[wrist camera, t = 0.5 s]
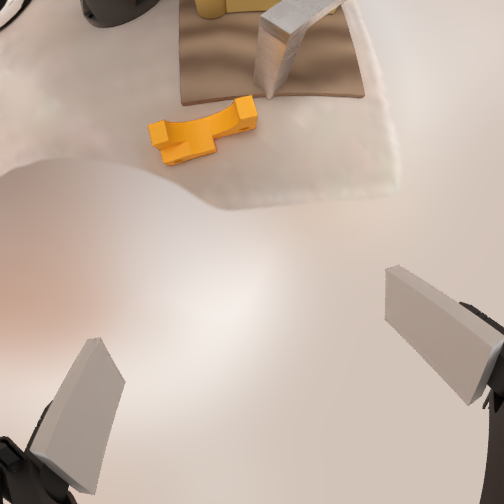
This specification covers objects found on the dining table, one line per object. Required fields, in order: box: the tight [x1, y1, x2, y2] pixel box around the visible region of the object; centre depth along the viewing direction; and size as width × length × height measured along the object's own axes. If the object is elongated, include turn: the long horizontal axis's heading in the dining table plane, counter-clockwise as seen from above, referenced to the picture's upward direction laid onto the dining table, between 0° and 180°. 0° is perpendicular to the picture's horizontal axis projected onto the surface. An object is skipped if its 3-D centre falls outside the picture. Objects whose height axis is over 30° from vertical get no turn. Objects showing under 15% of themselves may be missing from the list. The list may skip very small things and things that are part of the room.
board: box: [179, 0, 365, 106], centre depth 30 cm, size 22×25×1 cm
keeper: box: [253, 0, 346, 100], centre depth 24 cm, size 12×3×17 cm, turn 140°
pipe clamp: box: [148, 95, 258, 166], centre depth 31 cm, size 12×4×6 cm, turn 105°
